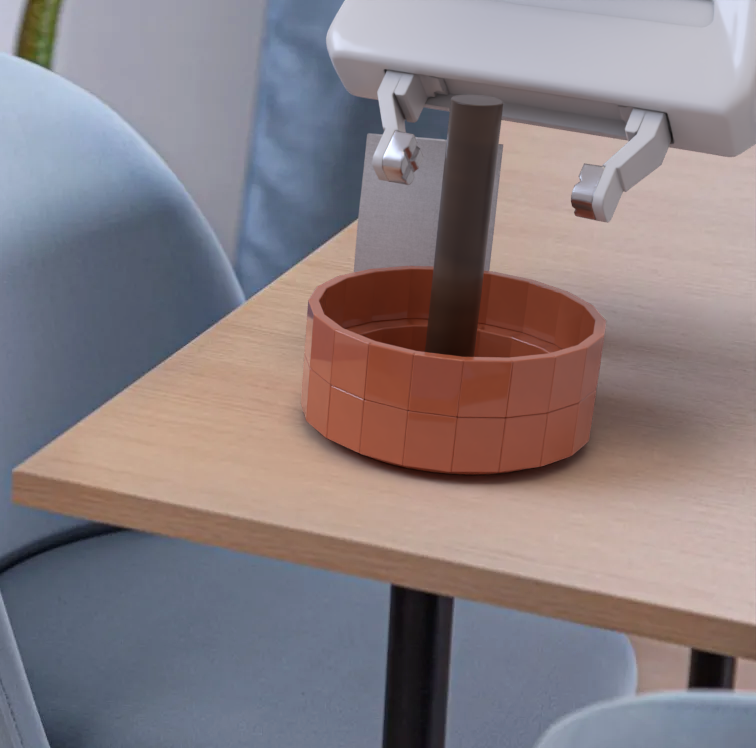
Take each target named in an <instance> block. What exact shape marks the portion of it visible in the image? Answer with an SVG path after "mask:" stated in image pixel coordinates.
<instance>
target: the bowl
mask: <svg viewBox="0 0 756 748" xmlns="http://www.w3.org/2000/svg"><path fill="white" fill-rule="evenodd" d="M433 267H434V266H398V267H386V268H373V269H367V270H362V271H358V272H354V271H353V272H350V273H345V274H340V275H337V276H335V277H333V278H331V279H328V280H326V281H325V282H322V283H321V284H318V285H317V286H316V287H315V289H314V290H313V291H312V293H311V295H310V297H309V298H308V300H307V310H306V311H307V312H306V323H305V324H306V327H305V328H306V329H305V337H304V338H305V339H304V352H303V365H302V366H303V367H302V381H301V393H300V394H301V395H300V396H301V397H300V405H301V409H302V413H303V415H304V417H305V421H306V423H308V424H309V425H310V426H311V427H312V428H314V429H315V430H316V431H317V432H318V433H320V434H321V436H323V437H324V438H325V439H328V440H330V441H332V442H334V443H336V444H338V445H340V446H342V447H345V448H347V449H348V450H351V451H353V452H355V453H357V454H360V455H363V456H366V457H368V458H370V459H373V460H376V461H379V462H383V463H386V464H389V465H393V466H398V467H402V468H405V469H406V468H407V469H411V470H416V471H417V470H418V471H424V472H429V473H430V472H431V473H439V474H448V475H450V474H451V475H476V476H477V475H497V474H505V473H512V472H518V471H523V470H528V469H533V468H535V469H536V468H540V467H544V466H547V465H551V464H554V463H557V462H558V461H563V460H565V459H567V458H570V457H572V456H574V454H576V453H578V451H580V450H581V449H582V448H583V447H585V445H586V444H588V443H589V442H590V438H591V430H592V424H593V417H594V411H595V405H596V404H595V403H596V396H597V389H598V383H599V376H600V369H601V363H602V356H603V350H604V343H605V337H606V330H607V329H606V328H607V320H606V319H605V317H604V316H603V315H602V314H601V312H599V309H597V308H596V306H595V305H593V304H591V303H589V302H588V301H586V300H584V299H583V298H581V297H579V296H577V295H576V294H574V293H572V292H570V291H568V290H565V289H561V288H559V287H556V286H553V285H550V284H547V283H544V282H541V281H539V280H535V279H531V278H526V277H521V276H518V275H512V274H507V273H502V272H499V271H492V270H489V271H485V270H484V276H483V284H482V293H481V302H480V310H479V319H478V328H477V336H476V345H475V354H474V357H461V356H453V355H445V354H436V353H428V352H425V345H426V336H427V326H428V316H429V306H430V297H431V287H432V277H433Z"/></svg>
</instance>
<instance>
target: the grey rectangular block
mask: <svg viewBox="0 0 756 748" xmlns="http://www.w3.org/2000/svg"><path fill="white" fill-rule="evenodd" d="M382 135H383V133H382V134H381V133H371V132H368V133H367V134H366V142H365V152H364V162H363V171H362V181H361V190H360V199H359V208H358V216H357V224H356V225H357V227H356V238H355V252H354V262H353V263H354V264H353V272H358V271H362V270H367V269H373V268H386V267H398V266H434V258H435V248H436V238H437V228H438V219H439V209H440V199H441V190H442V180H443V170H444V160H445V151H446V141H447V139H443V138H431V137H419V136H418V137H417V136H415V138H416V140H417V142H418V143H417V146H418V147H419V148H420V149H421V151H422V154H423V156H424V158H423V160H422V162H421V164H420V167H419V169H418V170H416V171H415V172H414V176H415V178H414V180H413V182H412V183H411V184H410V185H405V184H399V183H394V182H388V181H383V180H379V179H378V177H377V175H376V173H375V171H374V169H373V165H372V161H373V155H374V153H375V151H376V148H377V146H378V144H379V142H380V140H381V137H382ZM503 151H504V144H503V143H499V146H498V154H497V163H496V172H495V180H494V189H493V198H492V206H491V215H490V224H489V232H488V241H487V250H486V258H485V267H484V270H485V271H490V269H491V268H490V267H491V259H492V250H493V244H494V243H493V242H494V233H495V225H496V217H497V206H498V199H499V197H498V196H499V188H500V179H501V172H502V171H501V169H502V159H503Z"/></svg>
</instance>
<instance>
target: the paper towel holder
mask: <svg viewBox="0 0 756 748" xmlns="http://www.w3.org/2000/svg"><path fill="white" fill-rule="evenodd" d="M502 111H503V101H502V100H500V99H497V98H494V97H490V96H483V95H457V96H453V97H452V98H451V102H450V112H449V111H448V121H447V131H446V140H447V141H446V151H445V160H444V170H443V180H442V190H441V199H440V209H439V219H438V228H437V238H436V248H435V258H434V267H433V277H432V287H431V297H430V306H429V316H428V326H427V336H426V345H425V352H428V353H436V354H445V355H453V356H461V357H474V354H475V345H476V336H477V328H478V319H479V310H480V302H481V293H482V284H483V276H484V267H485V258H486V250H487V241H488V232H489V224H490V215H491V206H492V198H493V189H494V180H495V172H496V163H497V154H498V146H499V144H500V136H501V128H502V127H501V126H502V121H503V120H502Z"/></svg>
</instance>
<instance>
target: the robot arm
mask: <svg viewBox="0 0 756 748" xmlns="http://www.w3.org/2000/svg"><path fill="white" fill-rule="evenodd" d="M325 43H326V44H325V45H326V49H327V53H328V56H329V58H330V61H331V64H332V66H333V68H334V71H335V73H336V74H337V77H338V78H339V80H340V82H341V84H342V85H343V87H344V89H345V91H347V93H349V94H350V95H351V96H354V97H358V98H363V99H370V100H377V101H378V107H379V112H380V118H381V119H380V120H381V126H382V129H383V133H382V134H383V135H382V137H381V140H380V142H379V144H378V146H377V148H376V151H375V153H374V155H373V161H372V165H373V169H374V171H375V173H376V175H377V177H378V179H379V180H383V181H388V182H394V183H399V184H405V185H410V184H411V183H412V182H413V180H414V178H415V176H414V172H415V171H416V170H418V169H419V167H420V164H421V162H422V160H423V158H424V156H423V154H422V151H421V149H420V148H419V147H418V146H417V143H418V142H417V140H416V138H415V137H416V135H415V134H414V133H410V132H407V131H406V123H405V122H407V123H413V124H415V123H416V122H418V120H419V119H420V116H421V113H422V112H423V110H424V108H425V109H432V110H437V111H443V112H448V113H449V112H450V102H451V98H452V97H453V96H457V95H483V96H490V97H494V98H497V99H500V100H502V101H503V111H502V120H501V121H505V122H510V123H517V124H523V125H528V126H529V125H530V126H535V127H540V128H541V127H542V128H548V129H554V130H559V131H566V132H572V133H578V134H584V135H590V136H595V137H596V136H597V137H601V138H602V137H604V138H609V139H613V140H614V139H615V140H621V141H627V142H626V143H625V144H624V145H623V146H622V147H621V148H620V149H619V150H618V151H616V152H615V153H614V154H613V155H611V156H610V158H609V159H607V160H606V161H605V162H604V163H603V164H602V165H598V164H591V163H586V162H585V163H583V165H582V167H581V169H580V171H579V174H578V179H579V181H578V182H577V183H575V184H574V186H573V188H572V191H571V195H570V205H571V207H572V208H573V209H574V211H573V214H574V216H575V217H578V218H582V219H587V220H591V221H596V222H602V223H608V224H609V223H610V222H611V221H612V219H613V217H614V214H615V212H616V209H617V207H618V204H619V202H620V200H621V198H622V196H623V193H627V192H628V191H629V190H631V189H632V188H633V187H634V186H636V185H637V184H639V183H640V182H641V181H643V180H644V179H646V177H648V176H649V175H650V174H651V173H653V172H655V171H656V170H657V169H658V168H659V167H661V166H662V165H663V162H664V160H665V158H666V155H667V152H668V150H669V149H677V150H683V151H687V152H688V151H689V152H695V153H701V154H706V155H712V156H718V157H724V158H736V157H738V156H739V155H741V154H743V153H745V152H746V151H748V150H749V149H751V148H752V147H754V146H755V145H756V0H344V1H343V2H342V4H341V6H340V8H339V9H338V11H337V12H336V14H335V15H334V18H333V19H332V21H331V24H330V25H329V27H328V30H327V33H326V37H325Z"/></svg>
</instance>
